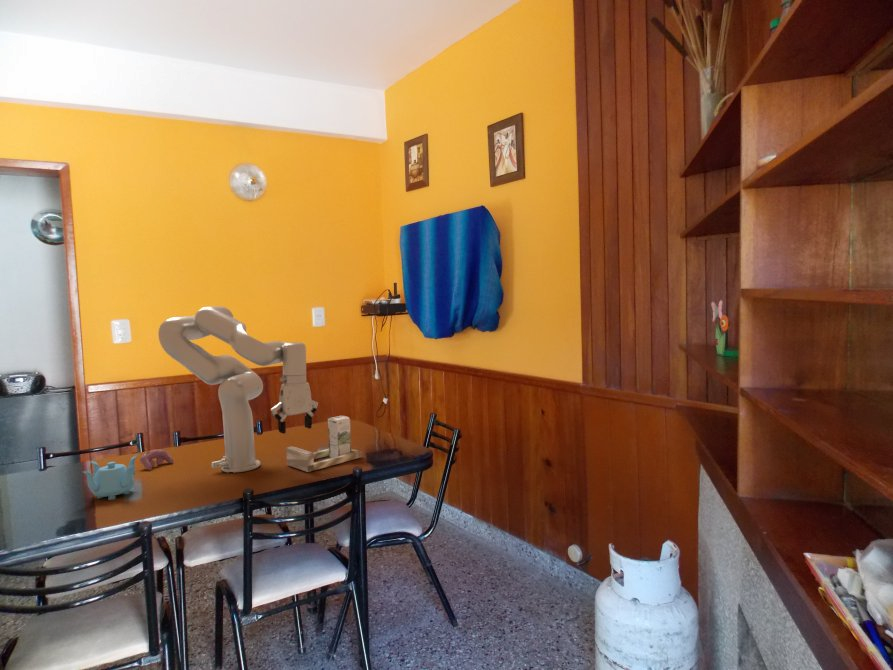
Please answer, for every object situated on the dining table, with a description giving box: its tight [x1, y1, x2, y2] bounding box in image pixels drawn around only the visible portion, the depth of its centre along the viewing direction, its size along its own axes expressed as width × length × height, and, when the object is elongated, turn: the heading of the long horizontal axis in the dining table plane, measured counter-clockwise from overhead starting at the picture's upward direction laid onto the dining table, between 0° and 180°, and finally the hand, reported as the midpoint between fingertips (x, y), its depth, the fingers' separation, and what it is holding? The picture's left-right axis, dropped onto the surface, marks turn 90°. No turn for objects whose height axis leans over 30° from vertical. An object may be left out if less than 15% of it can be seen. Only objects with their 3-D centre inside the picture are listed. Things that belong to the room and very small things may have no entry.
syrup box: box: [327, 415, 352, 459], centre depth 203 cm, size 6×6×14 cm
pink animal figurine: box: [139, 448, 174, 471], centre depth 202 cm, size 10×5×7 cm, turn 152°
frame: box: [285, 446, 363, 473], centre depth 199 cm, size 22×13×6 cm, turn 135°
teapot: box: [82, 454, 138, 501], centre depth 172 cm, size 13×13×10 cm
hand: (295, 430), depth 191 cm, fingers open, 9 cm apart
